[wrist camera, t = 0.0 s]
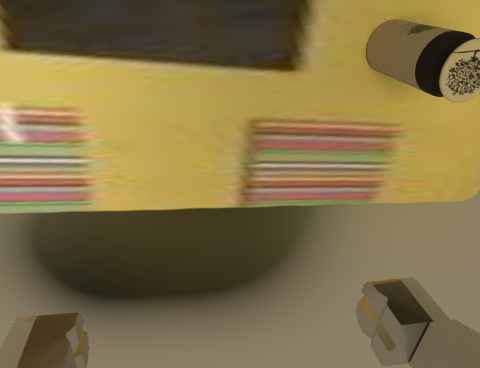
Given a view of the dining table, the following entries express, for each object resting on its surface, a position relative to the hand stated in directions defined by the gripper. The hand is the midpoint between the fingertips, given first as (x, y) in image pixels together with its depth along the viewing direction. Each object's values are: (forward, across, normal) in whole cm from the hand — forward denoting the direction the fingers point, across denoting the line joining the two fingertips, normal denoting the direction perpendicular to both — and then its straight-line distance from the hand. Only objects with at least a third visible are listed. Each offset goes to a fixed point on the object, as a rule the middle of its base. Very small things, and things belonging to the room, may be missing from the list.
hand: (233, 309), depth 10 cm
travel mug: (+48, -34, -1) cm, 59 cm away
